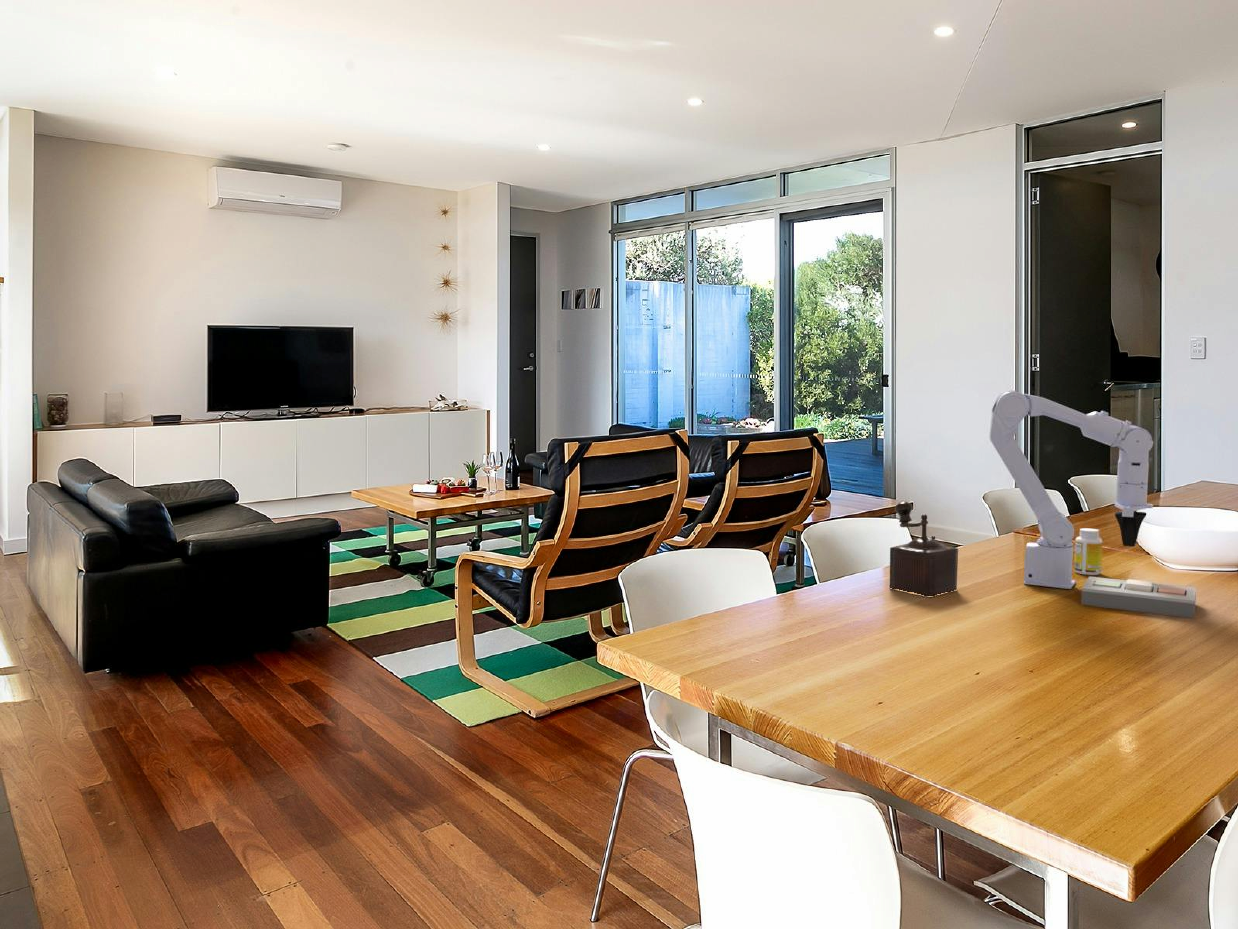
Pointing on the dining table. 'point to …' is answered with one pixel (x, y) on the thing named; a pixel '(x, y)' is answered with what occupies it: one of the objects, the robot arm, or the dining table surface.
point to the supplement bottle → (1088, 552)
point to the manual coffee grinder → (922, 561)
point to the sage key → (1107, 584)
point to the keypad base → (1139, 598)
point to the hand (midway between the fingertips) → (1129, 545)
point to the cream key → (1139, 585)
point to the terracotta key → (1171, 591)
